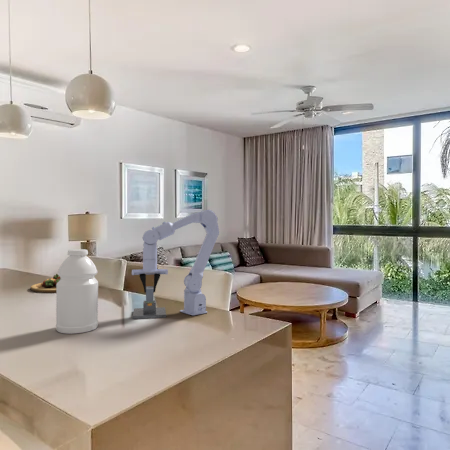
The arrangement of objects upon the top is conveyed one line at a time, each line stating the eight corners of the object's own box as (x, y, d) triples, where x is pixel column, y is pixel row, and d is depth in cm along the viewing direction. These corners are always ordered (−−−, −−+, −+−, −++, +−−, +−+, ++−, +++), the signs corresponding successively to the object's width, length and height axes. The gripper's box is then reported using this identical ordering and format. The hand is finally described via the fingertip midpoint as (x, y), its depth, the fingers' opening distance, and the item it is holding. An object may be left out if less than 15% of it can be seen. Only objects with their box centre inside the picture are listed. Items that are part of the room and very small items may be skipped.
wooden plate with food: (36, 285, 222) (36, 271, 222) (92, 283, 232) (92, 270, 232) (24, 295, 192) (24, 279, 192) (89, 292, 201) (89, 277, 201)
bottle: (57, 325, 135) (58, 248, 135) (97, 321, 139) (98, 248, 139) (54, 336, 121) (55, 251, 121) (98, 332, 126) (99, 250, 126)
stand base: (165, 310, 159) (165, 298, 159) (166, 317, 147) (166, 304, 146) (134, 311, 157) (134, 299, 157) (132, 319, 144) (132, 305, 144)
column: (153, 302, 153) (153, 286, 153) (153, 304, 150) (153, 287, 150) (145, 302, 153) (146, 286, 153) (145, 304, 150) (145, 287, 150)
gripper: (131, 260, 146) (131, 294, 146) (168, 259, 149) (167, 293, 149) (132, 258, 153) (132, 291, 153) (167, 258, 156) (167, 290, 156)
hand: (149, 292), depth 152 cm, fingers closed on column, 3 cm apart
